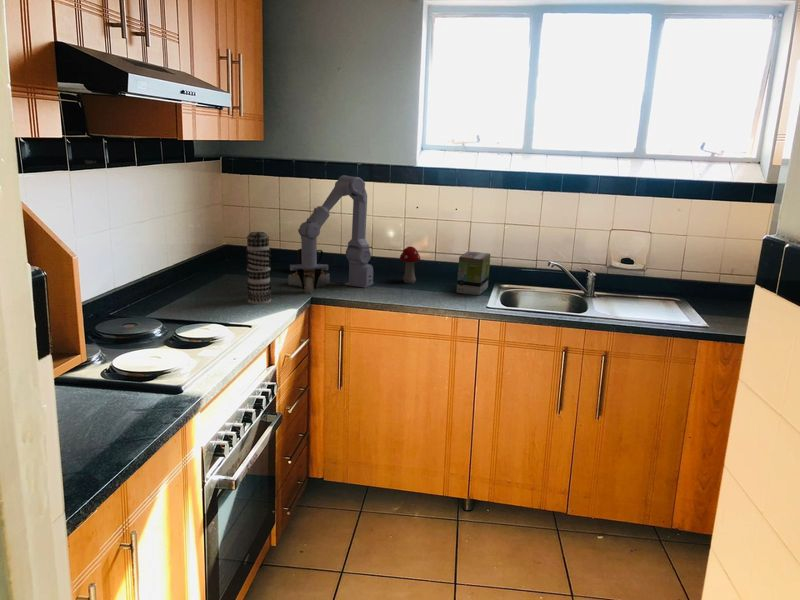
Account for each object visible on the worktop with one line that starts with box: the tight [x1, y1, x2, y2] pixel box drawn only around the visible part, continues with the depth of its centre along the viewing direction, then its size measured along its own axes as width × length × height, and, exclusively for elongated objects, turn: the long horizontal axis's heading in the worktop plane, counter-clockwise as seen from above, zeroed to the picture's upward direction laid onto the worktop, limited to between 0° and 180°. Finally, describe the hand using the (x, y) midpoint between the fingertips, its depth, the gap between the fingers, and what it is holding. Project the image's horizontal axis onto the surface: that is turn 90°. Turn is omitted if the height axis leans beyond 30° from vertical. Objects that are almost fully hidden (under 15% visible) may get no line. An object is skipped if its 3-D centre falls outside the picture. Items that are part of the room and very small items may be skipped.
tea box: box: [456, 250, 491, 296], centre depth 265 cm, size 15×10×15 cm, turn 161°
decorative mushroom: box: [399, 245, 421, 284], centre depth 276 cm, size 10×9×15 cm
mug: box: [297, 248, 324, 269], centre depth 292 cm, size 8×12×10 cm
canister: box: [304, 275, 315, 294], centre depth 255 cm, size 4×4×7 cm
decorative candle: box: [244, 231, 272, 305], centre depth 237 cm, size 9×9×25 cm
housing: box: [287, 270, 331, 289], centre depth 267 cm, size 12×12×5 cm
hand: (309, 288), depth 255 cm, fingers open, 4 cm apart
